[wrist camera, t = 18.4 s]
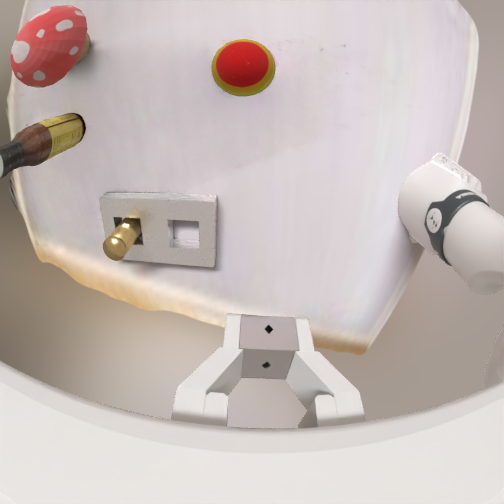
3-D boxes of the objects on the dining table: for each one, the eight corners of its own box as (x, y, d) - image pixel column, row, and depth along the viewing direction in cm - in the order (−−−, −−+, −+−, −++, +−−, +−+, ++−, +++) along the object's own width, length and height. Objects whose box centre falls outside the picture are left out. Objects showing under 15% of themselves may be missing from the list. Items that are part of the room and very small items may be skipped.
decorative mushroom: (43, 74, 29) (-15, 81, 16) (75, 9, 23) (20, -3, 10) (90, 94, 33) (30, 103, 20) (128, 23, 27) (75, 3, 14)
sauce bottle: (57, 128, 35) (-24, 161, 18) (76, 104, 33) (-10, 127, 17) (74, 153, 38) (-4, 197, 21) (94, 130, 36) (11, 164, 20)
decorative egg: (262, 104, 35) (263, 105, 27) (208, 87, 34) (193, 84, 25) (281, 56, 31) (289, 43, 23) (227, 39, 30) (218, 22, 21)
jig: (217, 195, 43) (214, 202, 40) (215, 257, 49) (213, 267, 47) (107, 191, 42) (99, 198, 40) (116, 249, 49) (110, 258, 46)
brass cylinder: (143, 213, 45) (122, 239, 37) (145, 233, 47) (126, 261, 39) (123, 213, 45) (100, 237, 37) (126, 232, 47) (105, 259, 39)
